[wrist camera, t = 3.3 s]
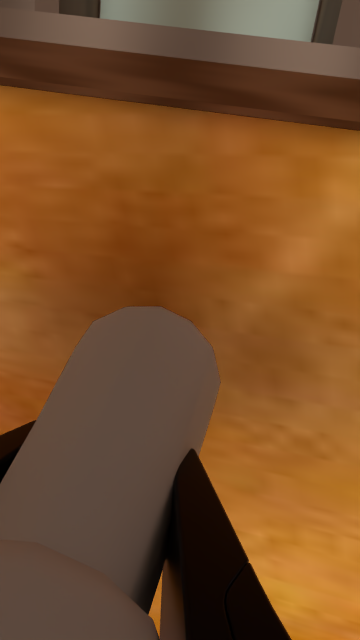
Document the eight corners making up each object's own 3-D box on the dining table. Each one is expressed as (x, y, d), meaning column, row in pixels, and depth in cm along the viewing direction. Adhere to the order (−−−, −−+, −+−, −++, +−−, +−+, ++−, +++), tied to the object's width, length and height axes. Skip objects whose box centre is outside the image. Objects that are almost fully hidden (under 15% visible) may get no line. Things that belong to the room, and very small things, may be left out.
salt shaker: (76, 379, 16) (-478, 986, 3) (120, 271, 14) (-676, 631, 1) (186, 430, 16) (82, 1203, 3) (241, 329, 14) (466, 1104, 2)
